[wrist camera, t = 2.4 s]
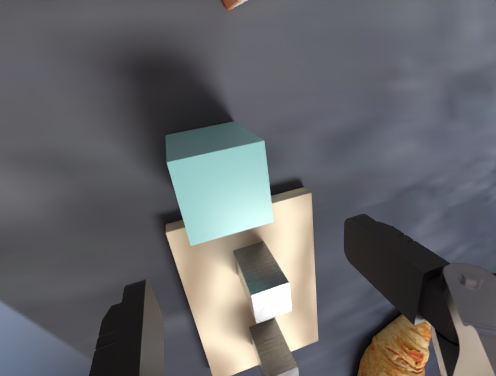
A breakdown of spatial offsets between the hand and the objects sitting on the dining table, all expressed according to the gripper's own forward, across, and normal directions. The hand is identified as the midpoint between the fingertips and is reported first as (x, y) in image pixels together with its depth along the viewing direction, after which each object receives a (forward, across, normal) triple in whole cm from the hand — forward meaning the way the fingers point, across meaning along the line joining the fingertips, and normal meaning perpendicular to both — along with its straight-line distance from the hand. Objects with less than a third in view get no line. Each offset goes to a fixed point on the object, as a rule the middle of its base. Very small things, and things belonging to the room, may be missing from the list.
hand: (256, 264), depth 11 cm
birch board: (+14, -2, +16) cm, 22 cm away
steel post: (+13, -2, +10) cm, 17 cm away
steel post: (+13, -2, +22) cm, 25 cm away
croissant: (+15, -22, +38) cm, 46 cm away
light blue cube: (+14, 0, 0) cm, 15 cm away
